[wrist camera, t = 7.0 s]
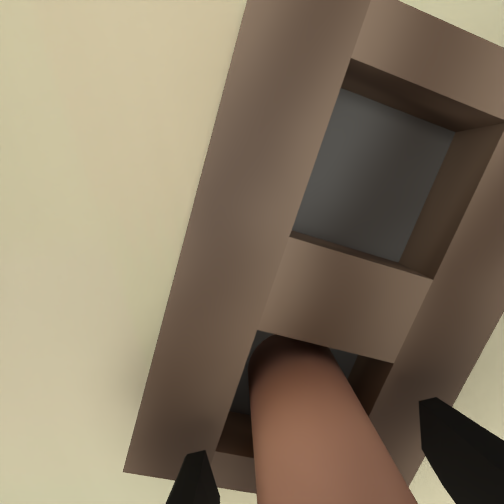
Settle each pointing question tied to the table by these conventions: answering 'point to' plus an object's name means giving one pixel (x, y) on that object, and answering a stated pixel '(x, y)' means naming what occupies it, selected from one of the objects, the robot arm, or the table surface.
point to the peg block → (335, 227)
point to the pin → (314, 432)
